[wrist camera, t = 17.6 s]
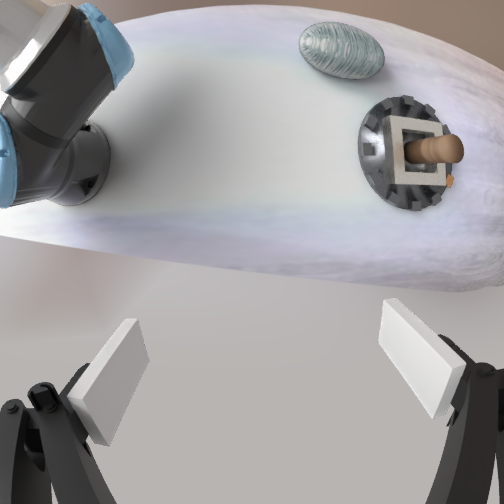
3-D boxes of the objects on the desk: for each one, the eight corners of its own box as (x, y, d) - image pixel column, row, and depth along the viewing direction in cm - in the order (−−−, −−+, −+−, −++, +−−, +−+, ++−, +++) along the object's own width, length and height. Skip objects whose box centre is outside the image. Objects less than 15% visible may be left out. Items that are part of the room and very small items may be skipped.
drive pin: (403, 163, 41) (445, 161, 30) (401, 140, 41) (442, 132, 29) (421, 164, 41) (464, 163, 30) (419, 142, 40) (462, 135, 29)
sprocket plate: (360, 210, 44) (370, 213, 41) (351, 92, 40) (360, 86, 36) (450, 208, 44) (462, 211, 41) (443, 106, 39) (455, 103, 36)
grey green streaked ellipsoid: (384, 39, 34) (393, 33, 26) (375, 86, 40) (381, 91, 33) (306, 20, 36) (297, 11, 29) (299, 67, 42) (289, 68, 35)
